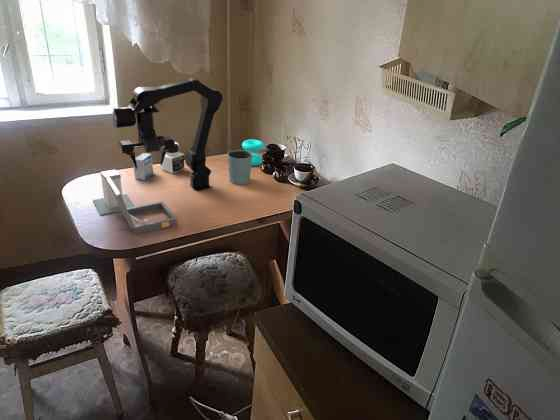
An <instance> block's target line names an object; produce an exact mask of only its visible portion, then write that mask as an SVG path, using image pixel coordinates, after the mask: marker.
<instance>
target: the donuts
mask: <svg viewBox="0 0 560 420" xmlns="http://www.w3.org/2000/svg"><path fill="white" fill-rule="evenodd" d="M241 147H242V148H243V150H245V151H249V152H251V153H252V155H253V156H252V164H251V167H255V166H260V165H262V164H263V163H262V158H263V156H262V155H260V154H259V153H257V152H260V151H263V149H264V148H265V144H264V143H263V141H262V140H258V139H246V140H244V141H243V142H242V143H241ZM261 163H262V164H261Z"/></svg>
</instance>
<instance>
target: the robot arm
mask: <svg viewBox="0 0 560 420" xmlns="http://www.w3.org/2000/svg"><path fill="white" fill-rule="evenodd" d="M191 92H196V93H197V94H198V95H200V107H201V112H200V116H199V121H198V125H197V129H196V133H195V136H194V141H193V145H192V147H191V148H190V149H188V148H187V149H186V150H185V154H184V164H185V165H186V166H187V167H188V168H189V169H190V171H191V176H189V177H190V178H189V180H190V183H189V186H190V187H192V189H193V190H195V191H196V192H197V191H202V190H209V189H211V188H212V187H211V186H210V175H211V173H212V170H211V169H210V168H209V167H208V166H206V162H207V157H206V148H207V143H208V140H209V136H210V132H211V128H212V124H213V123H212V122H213V120H214V115H215V114H216V113H217V111H219V109H220V107H221V104H222V102H223V94H222V93H221V91H219V90H217V89H215V88H214V87H212V86H206V84H203V83H202V82H200V80H198V79H197V78H194V77H189V78H186V79H184V80H178V81H175V82H171V83H167V84H163V85H159V86H151V85H150V86H138V87H136V88H135V89H134V90H133V92H132V97H131V99H130V100H129V102H128V103H127V106H122V107H121V106H120V107H118V106H115V107H113V111H112V116H111V117H112V122H113V126H114V128H115V129H123V128H130V127H131V128H133V127H134V126H135V125H136V130H137V142H132V141H131V140H130V139H128V140H127V139H126V140H119V141H118V145H117V146H118V150H119V151H120V153H122V154H125V155H127V156H128V157H129V158H130V160H131V162H132V164H134V165H133V167H134V166H135V168H136V169H137V163H136V152H135V151H134V150H135V149H140V148H144V150H145V153H146V152H147V153H152V152H158V157H159V165H160V166H161V165H162V163H163V160H164V157H165V155H166V152H167V151H168V150H171V148H172V147H175V142H176V141H175V140H174V139H173V138H172V137H171V136H170V135H157V133H156V128H155V120H154V113H155V114H156V113H159V112H160V109H158V108H157V107H156V106H155V105H157V104H158V103H160V102H161V101H163V100H165V99H168V98H172V97H176V96H180V95H183V94H187V93H191Z"/></svg>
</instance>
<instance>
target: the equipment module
mask: <svg viewBox="0 0 560 420" xmlns="http://www.w3.org/2000/svg"><path fill="white" fill-rule="evenodd" d="M99 174H100V178H101V183H102V184H101V185H102V191H103V198H104V201H105V203H106V205H107V206H108V207H109V208H113V207H117V206H119V205H118V203H117V201H116V199H115V197H114V195H113V192H112V190H111V188H110V186H109V184H108V182H107V179H106V178H107V177H110V178H111V180H112V181H113V183H114V184H115V186H116V188H117V189H118V191H119V192H120V194H121V196H122V195H123V189H122V180H121V178H122V176H121V173H119V171H118V170H116V169H110V170H104V171H100V172H99ZM122 198H123V196H122Z"/></svg>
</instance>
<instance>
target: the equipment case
mask: <svg viewBox="0 0 560 420" xmlns="http://www.w3.org/2000/svg"><path fill="white" fill-rule="evenodd" d="M106 179H107V182H108V184H109V186H110V188H111V190H112V192H113V195H114V197H115V199H116V201H117V203H118V205H119V208H120V210H121V211H122V212H121V213H122V215H123V217H124V218H125V220H126V222H127V224H128V225H129V227H130V229H131V230H132V232H133V234H134V235H138V234H143V233H148V232H154V231H156V230H160V229H161V230H162V229H166V228H170V227H174V226H177V225H178V223H177V221H178V220H177V219H178V218H177V217H175V215H174V214H173V212H172V211H171V210H170V208H168V206H167V205H166V203H165V202H164V201H158V202H153V203H152V202H151V203H148V204H142V205H137V206H135V207H131V208H127V207H126V205H125V203H124V201H123V198H122V196H121V194H120V192H119V191H118V189H117V188H116V186H115V184H114V183H113V181H112V180H111V178H110V177H107V178H106ZM160 210H161V211H162V212H163V214H165V216H166V217H167V219H166V218H165V219H161V220H158V221H157V220H156V221H153V222H149V219H143V220H141V219H140V218H137V217H135V215H139V214H145V213H148V212H149V213H150V212H155V211H160ZM135 221H136V222H138V223H141V224H139V225H138V224H136V222H135Z"/></svg>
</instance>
